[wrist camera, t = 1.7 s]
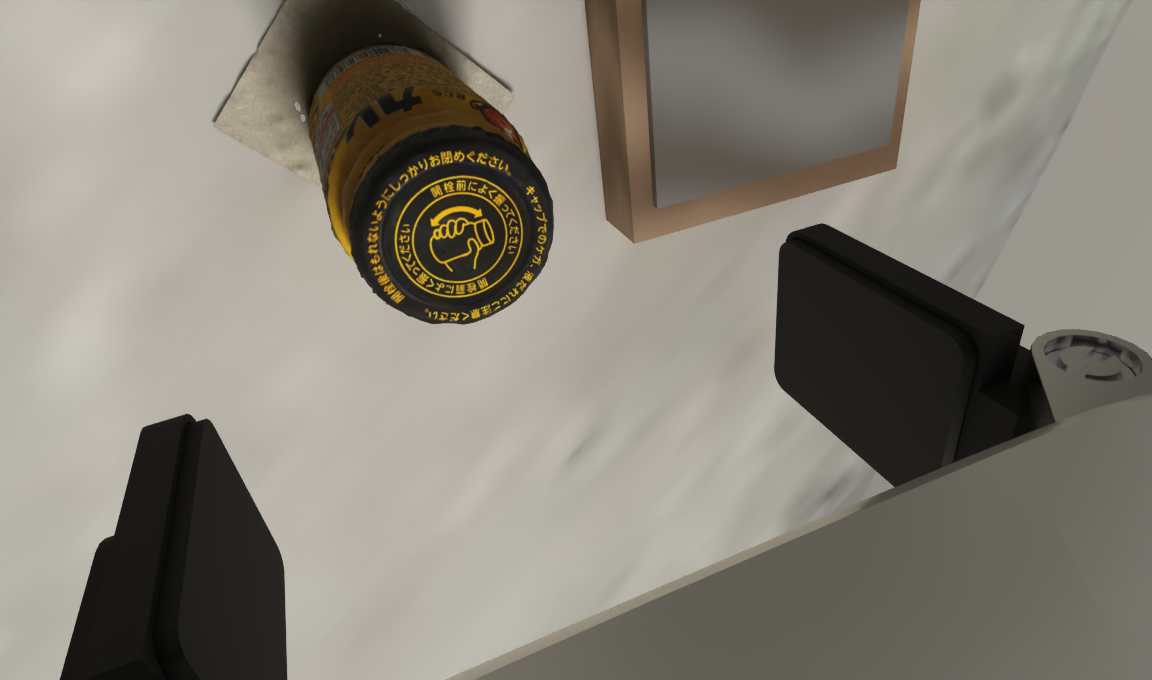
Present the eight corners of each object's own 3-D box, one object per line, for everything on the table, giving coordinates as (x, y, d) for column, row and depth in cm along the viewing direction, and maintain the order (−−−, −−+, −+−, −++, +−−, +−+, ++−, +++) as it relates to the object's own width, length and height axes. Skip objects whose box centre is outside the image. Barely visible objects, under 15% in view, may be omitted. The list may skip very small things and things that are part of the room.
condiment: (415, 239, 29) (489, 392, 20) (213, 124, 25) (181, 252, 15) (513, 94, 28) (645, 182, 18) (319, -59, 23) (359, -47, 14)
